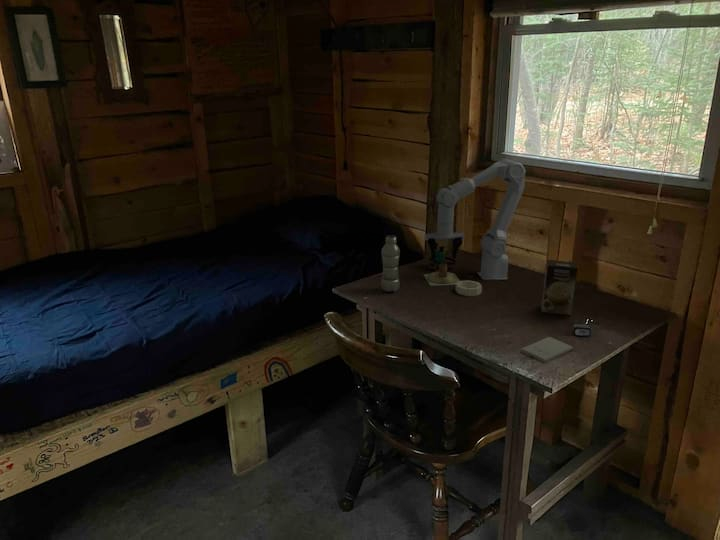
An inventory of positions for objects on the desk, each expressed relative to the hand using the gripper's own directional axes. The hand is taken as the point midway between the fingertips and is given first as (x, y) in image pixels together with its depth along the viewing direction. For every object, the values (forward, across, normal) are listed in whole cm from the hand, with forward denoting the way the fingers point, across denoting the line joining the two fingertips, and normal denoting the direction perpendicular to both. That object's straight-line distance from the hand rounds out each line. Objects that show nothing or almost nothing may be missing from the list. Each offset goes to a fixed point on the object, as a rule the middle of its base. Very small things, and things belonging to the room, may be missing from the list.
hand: (443, 258), depth 206 cm
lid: (+8, 0, 0) cm, 8 cm away
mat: (+9, 0, 0) cm, 9 cm away
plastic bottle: (+9, +21, +8) cm, 24 cm away
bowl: (+9, -6, +13) cm, 17 cm away
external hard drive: (+10, -15, +58) cm, 61 cm away
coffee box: (+9, -30, +31) cm, 44 cm away
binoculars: (+9, -3, -13) cm, 16 cm away
